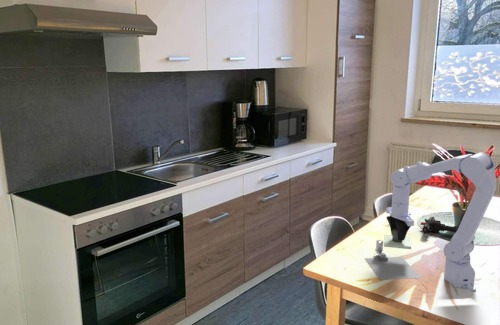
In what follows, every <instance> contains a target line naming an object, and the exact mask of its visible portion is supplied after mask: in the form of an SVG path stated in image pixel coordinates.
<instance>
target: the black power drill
mask: <svg viewBox="0 0 500 325" xmlns="http://www.w3.org/2000/svg"><path fill="white" fill-rule="evenodd" d="M423 220H424V222H423V221H422V222H420V226H423V227H422V228H421V231H422V234H425V235H427V233H429V232H433V233H437V234H439V233H440V232H451V233H454V234H455V233H456V232H457V230H458V228H459V226H458V227H457V226H450V225H446V223H445V224H444V223H442V222H441V220H437V219H435V217H434V216H430V217H429V218H428V219H427V218H424V219H423Z"/></svg>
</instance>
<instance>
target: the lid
mask: <svg viewBox="0 0 500 325" xmlns="http://www.w3.org/2000/svg"><path fill="white" fill-rule="evenodd" d="M384 247H385V248H395V249H404V250H412V243H411V237H410V236H406V237H405V239H404V240H402V241H399V240H398V231H397V228H394V229H393V234H391V235H389V234H384V240H383V248H384Z"/></svg>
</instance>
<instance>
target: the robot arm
mask: <svg viewBox="0 0 500 325" xmlns="http://www.w3.org/2000/svg"><path fill="white" fill-rule="evenodd" d="M495 168H496V163H495V162H494V160H493V158H492V157H491V155H489V154H488V153H486V152H483V151H482V152H481V151H480V152H476V153H474V154H473V153H468V154H462V155H458V156H455V157H452V158H451V157H450V158H449V159H445V160H442V161H438V162H435V163H431V164H429V163H427V162H425V161H424V162H422V161H418V162H415V164H414V165H410V166H408V165H406V166H405V165H404V166H403V167H402V168H399V169H395V171H392V172H391V174H390V177H389V179H390V182H391V184H392V192H391V193H392V194H391V206H389V207H385V212H386V214H389V215H388V216H386V220H387V223H388V224H389V229H390V233H391V235H392V234H393V229H394V228H397V231H398V240H399V241H402V240H404V239H405V237H407V234H408V232H409V230H410V229H411V227H413V226H414V224H415V220H414V219H413V218H412V217H411V215H412V214H411V212H410V211H409V208H410V193H411V189H410V188H411V184H414V183H417V182H422V181H425V180H426V181H427V180H430V179H431V177H432V175H434V174H437V173H438V174H439V173H442V172H446V171H451V170H453V171H456V172H457V173H462V174H463V175H464V176H465V177H466V178H467V179H468V180H469V181H470V182H471V184H473V186H474V188H475V190H474V192H473V195H472V197H471V199H470V202H469V204H468V206H467V208H466V210H465V213H464V215H463V217H462V219H461V221H460V223H459V226H458V230H457V232H456V233H455V232H454V234H453V236H452V237H451V239H450V240H449V242H448V243H446V244H445V245H444V246H443V254H444V256H445V266H444V273H443V274H444V277H443V278H444V280H445V281H446V282H448V283H449V284H451V285H452V286H453V287H454V288H455V289H460V288H461V289H463V288H464V289H469V290H470V291H477V289H476V287H475V277H476V271H475V269H474V268H473V266H472V265H471V255H470V254H471V253H472V252H473V250H474V249H475V243H474V242H475V240H476V232H477V231H478V228H479V226H480V225H481V222H482V220H483V218H484V215H485V213H486V211H487V209H488V207H489V205H490V203H491V200H492V198H493V197H494V194H495V192H496V191H497V186H498V183H497V178H496V171H495V170H496V169H495Z"/></svg>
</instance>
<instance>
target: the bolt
mask: <svg viewBox="0 0 500 325" xmlns="http://www.w3.org/2000/svg"><path fill="white" fill-rule="evenodd" d="M375 245H376V247H375V250H374V251H375V253H376V254H377V255H379V256H380V258H382V257H386V256H387V254H386V253H385V251H383V250H384V240H382V239H381V240H380V239H378V240H376V244H375Z"/></svg>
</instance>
